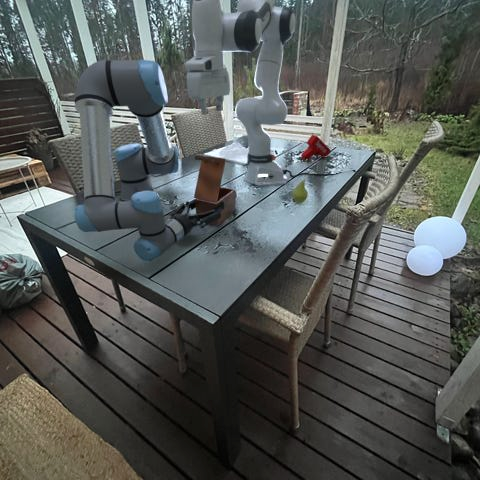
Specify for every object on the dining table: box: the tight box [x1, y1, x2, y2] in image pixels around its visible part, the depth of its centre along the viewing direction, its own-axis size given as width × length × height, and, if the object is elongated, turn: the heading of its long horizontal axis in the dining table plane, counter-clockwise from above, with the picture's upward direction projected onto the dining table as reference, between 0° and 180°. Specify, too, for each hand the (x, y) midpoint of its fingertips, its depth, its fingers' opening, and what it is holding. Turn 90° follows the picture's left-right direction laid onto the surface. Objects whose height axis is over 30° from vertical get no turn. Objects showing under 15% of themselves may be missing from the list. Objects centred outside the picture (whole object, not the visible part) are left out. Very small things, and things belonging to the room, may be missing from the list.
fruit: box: [291, 175, 311, 204], centre depth 118 cm, size 7×8×12 cm
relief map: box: [203, 141, 249, 166], centre depth 184 cm, size 27×35×5 cm
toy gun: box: [300, 134, 332, 162], centre depth 175 cm, size 18×4×15 cm
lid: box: [193, 154, 227, 203], centre depth 96 cm, size 16×10×8 cm
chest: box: [194, 186, 237, 226], centre depth 109 cm, size 15×10×9 cm, turn 153°
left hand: (211, 202), depth 105 cm, fingers closed on chest, 10 cm apart
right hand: (212, 112), depth 91 cm, fingers open, 8 cm apart
